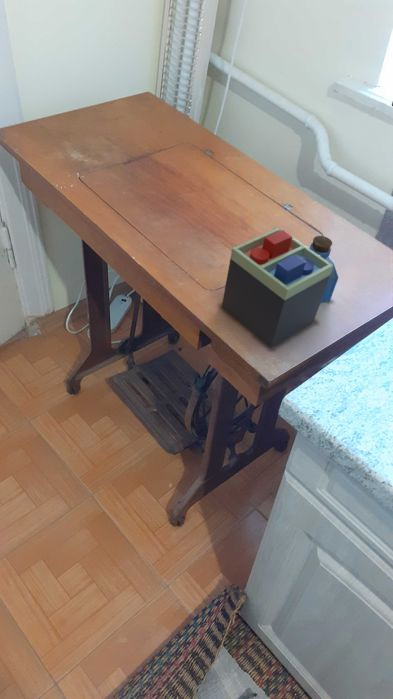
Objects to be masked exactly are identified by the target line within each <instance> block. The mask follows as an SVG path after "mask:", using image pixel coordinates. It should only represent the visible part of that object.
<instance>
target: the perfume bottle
mask: <svg viewBox="0 0 393 699" xmlns="http://www.w3.org/2000/svg"><path fill="white" fill-rule="evenodd" d="M332 246H333V241H332V240H331V238H329V237H328V236H324V235H317V236H314V237H313V238H312V242H311V244H310V245H309V247H308V248H309V249H311V250H312V251H313V252H315V253H316V254H318V255H319V256H321V257H322V258H324V259H325V260H327V261H328V262H329V263H330V264H332V265H333V268H332V271H331V274H330V277H329V280H328V283H327V285H326V288H325V291H324V294H323V297H322V299H321V302H320V304H324V303H329V302H331V299H332V298H333V297H332V296H333V293H334V292H335V289H336V286H337V282H338V280H339V274H338V273H337V269H336V266H335V262H333V260H331V258H330V254H331V252H332V248H331V247H332Z"/></svg>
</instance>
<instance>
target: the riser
mask: <svg viewBox="0 0 393 699" xmlns="http://www.w3.org/2000/svg"><path fill="white" fill-rule="evenodd" d="M329 277H330V276H328V277H326V278H324V279H323V280H321V281H319V282H317V283H315V284H313V285H312V286H310V287H308V288H306V289H304V290H303V291H301V292H299V293H297V294H295V295H294V296H292V297H290V298H288V299H286V300H284V299H282V298H281V297H280V296H278V295H277V294H276V293H274V292H273V291H272V290H271V289H269V288H268V287H267V286H265V285H264V284H263V283H262V282H260V281H259V280H258V279H256V278H255V277H254V276H252V275H251V274H250V273H249V272H247V271H246V270H245V269H243V268H242V267H241V266H240V265H238V264H237V263H236V262H234V261H233V260H232V259H231V258H229V264H228V269H227V276H226V280H225V287H224V292H223V298H222V304H221V307H222V309H224V310H225V311H227V312H228V313H229V314H230V315H231V316H233V317H234V318H235V319H236V320H237V321H238V322H240V323H241V324H242V325H243V326H244V327H245V328H247V329H248V330H249V331H250V332H251V333H253V334H254V335H255V337H257V338H259V340H260V341H262V342H263V343H264V344H266V345H267V346H268V347H269V349H270V348H271V349H272V348H274V347H275V346H277V345H278V344H281V343H282V342H283V341H285V340H287V339H288V338H290V337H292V336H293V335H295V334H296V333H298V332H300V331H301V330H303V329H305V328H306V327H308V326H310V325H311V324H313V323H314V322H315V319H316V316H317V313H318V311H319V308H320V305H321V303H320V302H321V299H322V297H323V294H324V291H325V288H326V285H327V283H328V280H329Z"/></svg>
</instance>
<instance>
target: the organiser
mask: <svg viewBox="0 0 393 699" xmlns="http://www.w3.org/2000/svg"><path fill="white" fill-rule="evenodd" d="M281 230H283V229H282V228H280V227H276V228H273V229H272V230H269V231H268V232H264V233H263V234H261V235H258V236H256V237H253V238H252V239H249V240H248V241H245V242H243V243H241V244H238V245H236V246H234V247H232V248H231V253H230V259H232V260H233V261H234V262H236V263H237V264H238V265H240V266H241V267H242V268H243V269H245V270H246V271H247V272H249V273H250V274H251V275H252V276H254V277H255V278H256V279H258V280H259V281H260V282H262V283H263V284H264V285H265V286H267V287H268V288H269V289H271V290H272V291H273V292H274V293H276V294H277V295H278V296H280V297H281V298H282V299H284V300H286V299H288V298H290V297H292V296H294V295H295V294H297V293H299V292H301V291H303V290H304V289H306V288H308V287H310V286H312V285H313V284H315V283H317V282H319V281H321V280H323V279H324V278H326V277H328V276H330V274H331V271H332V268H333V265H332V264H330V263H329V262H328V261H327V260H325V259H324V258H322V257H321V256H319V255H318V254H316V253H315V252H313V251H312V250H311V249H309V248H310V247H307V246H306V245H305V244H303V243H302V242H300V241H299V240H298V239H297V238H295V237H294V236H292V240H291V244H290V247H289V251H288V252H285V253H283V254H281V255H279V256H277V257H274V258H272V259H270V258H269V261H268V262H267V263H266V264H257V263H256V262H254V261H253V260H252V259H250V253H251V250H252V249H254V248H262V247H263V243H264V238H265V237H267V236H269V235H271V234H274V233H276V232H278V231H281ZM293 255H297V256H298V257H300V258H304V259H308V260H310V261H311V262H312V263H313V264H314V268H313V271H312V273H311V274H309V275H302V276H301V277H299V278H298V279H296V280H294V281H292V282H290V283H288V284H286V285H285V284H283V283H282V282H281V281H279V280H278V279H277V278H275V277H274V274H275V270H276V266H277V263H279V262H281V261H283V260H285V259H287V258H289V257H291V256H293Z"/></svg>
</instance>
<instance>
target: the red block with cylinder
mask: <svg viewBox="0 0 393 699" xmlns="http://www.w3.org/2000/svg"><path fill="white" fill-rule="evenodd" d="M292 237H293V235H291V234H289V233H288V232H287V231H285V230H284V229H282V230H281V231H278V232H276V233H274V234H271V235H269V236H267V237H265V238H264V243H263V247H262V248H254V249H252V250H251V253H250V259H252V260H253V261H254V262H256V263H257V264H266V263H267V262H268V261H269V258H270V259H272V258H274V257H277V256H279V255H281V254H283V253H285V252H288V251H289V247H290V244H291V240H292Z"/></svg>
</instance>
